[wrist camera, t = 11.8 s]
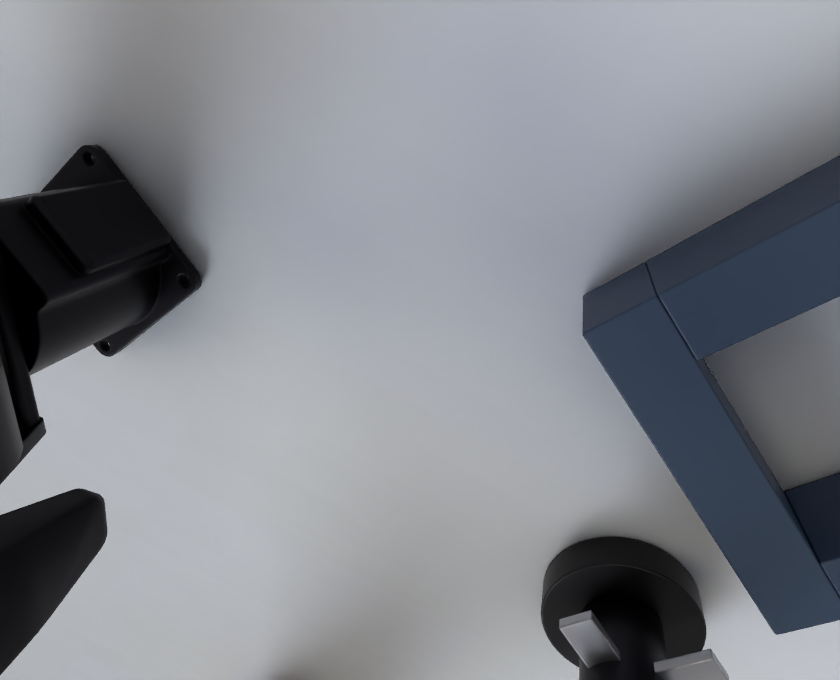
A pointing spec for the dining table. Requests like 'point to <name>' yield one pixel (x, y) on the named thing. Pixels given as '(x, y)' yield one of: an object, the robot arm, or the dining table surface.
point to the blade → (626, 613)
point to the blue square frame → (704, 399)
